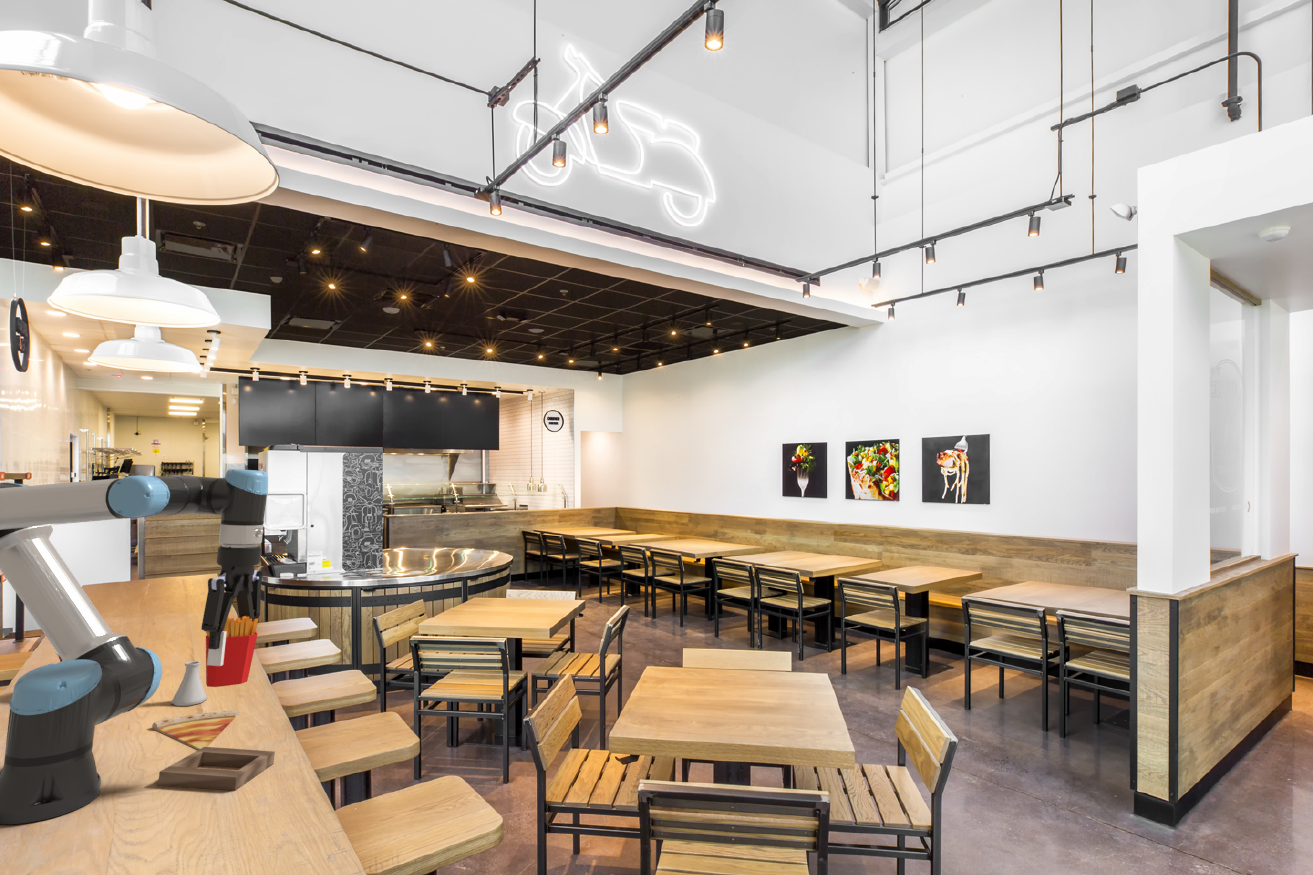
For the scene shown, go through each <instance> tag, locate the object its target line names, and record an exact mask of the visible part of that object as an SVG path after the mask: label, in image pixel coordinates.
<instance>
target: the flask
mask: <svg viewBox="0 0 1313 875" xmlns="http://www.w3.org/2000/svg"><path fill="white" fill-rule="evenodd" d="M201 663H202V661H199V660H192V661H187V662H185V663H184V666H185V672H184V675H183V678H182V680H181V682H180V684H179V686H178V688H177V691H176V693H175V694H174V696H173V698H172V700H171V701H170V703H171V704H172V705H174V706H178V707H179V706H181V707H188V706H189V707H190V706H193V705H197V704H198V705H199V704H201V703H203V702H205V701H206V700H208V697H207V694H206V691H205V689H204V686H203V683H202V680H201V677H200V665H201Z"/></svg>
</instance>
